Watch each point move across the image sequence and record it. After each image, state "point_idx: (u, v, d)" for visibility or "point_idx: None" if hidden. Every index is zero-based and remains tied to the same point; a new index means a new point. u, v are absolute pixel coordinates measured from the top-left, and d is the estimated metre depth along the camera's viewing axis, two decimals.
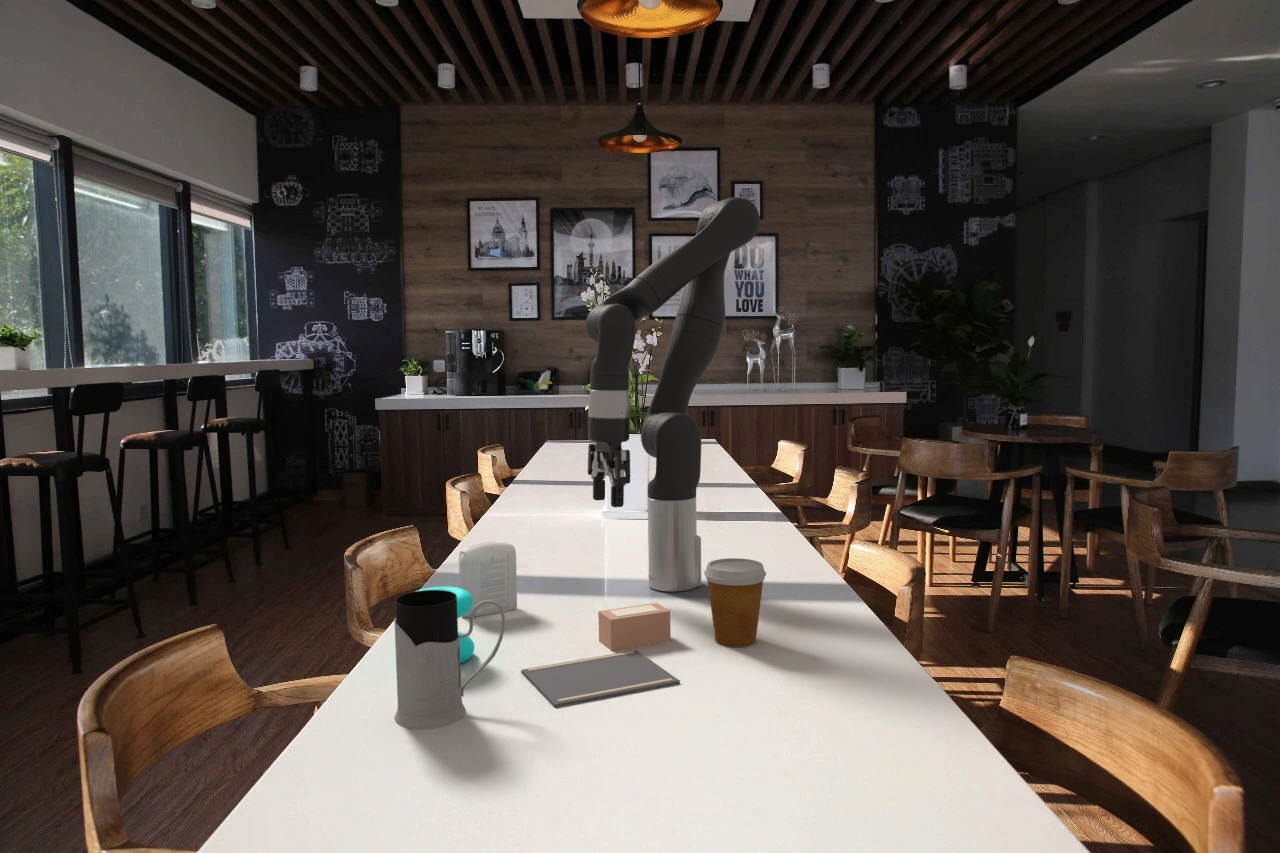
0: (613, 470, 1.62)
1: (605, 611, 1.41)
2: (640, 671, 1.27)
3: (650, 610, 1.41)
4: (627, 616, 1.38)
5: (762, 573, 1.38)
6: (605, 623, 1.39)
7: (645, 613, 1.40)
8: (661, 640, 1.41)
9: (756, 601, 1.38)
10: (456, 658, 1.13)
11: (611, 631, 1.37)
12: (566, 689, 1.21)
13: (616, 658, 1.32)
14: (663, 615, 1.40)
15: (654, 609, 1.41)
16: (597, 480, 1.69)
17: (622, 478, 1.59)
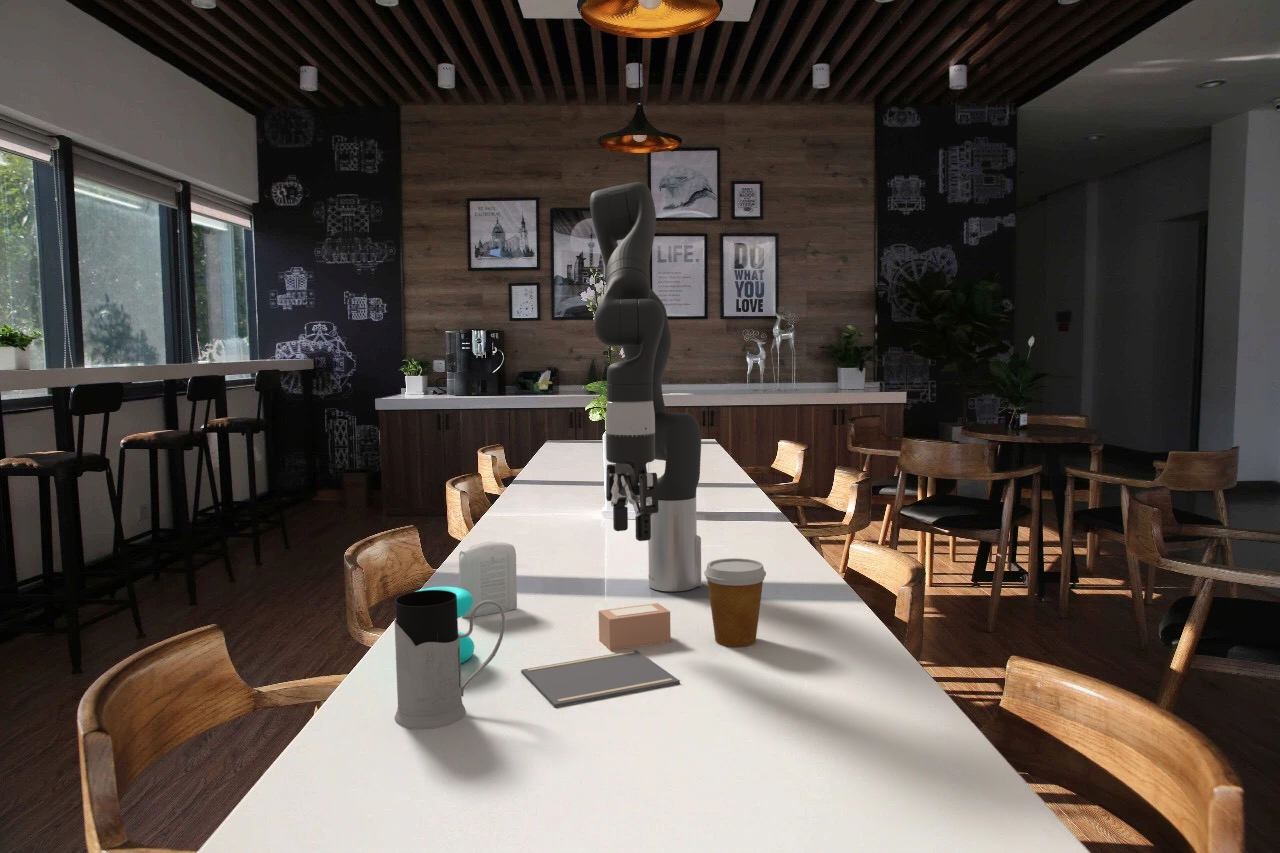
0: (637, 497, 1.36)
1: (605, 611, 1.41)
2: (640, 671, 1.27)
3: (650, 610, 1.41)
4: (626, 616, 1.38)
5: (762, 573, 1.38)
6: (605, 623, 1.39)
7: (645, 613, 1.39)
8: (661, 640, 1.40)
9: (756, 601, 1.38)
10: (456, 658, 1.13)
11: (610, 631, 1.37)
12: (566, 689, 1.21)
13: (616, 658, 1.32)
14: (663, 616, 1.40)
15: (654, 609, 1.41)
16: (618, 507, 1.43)
17: (649, 507, 1.33)
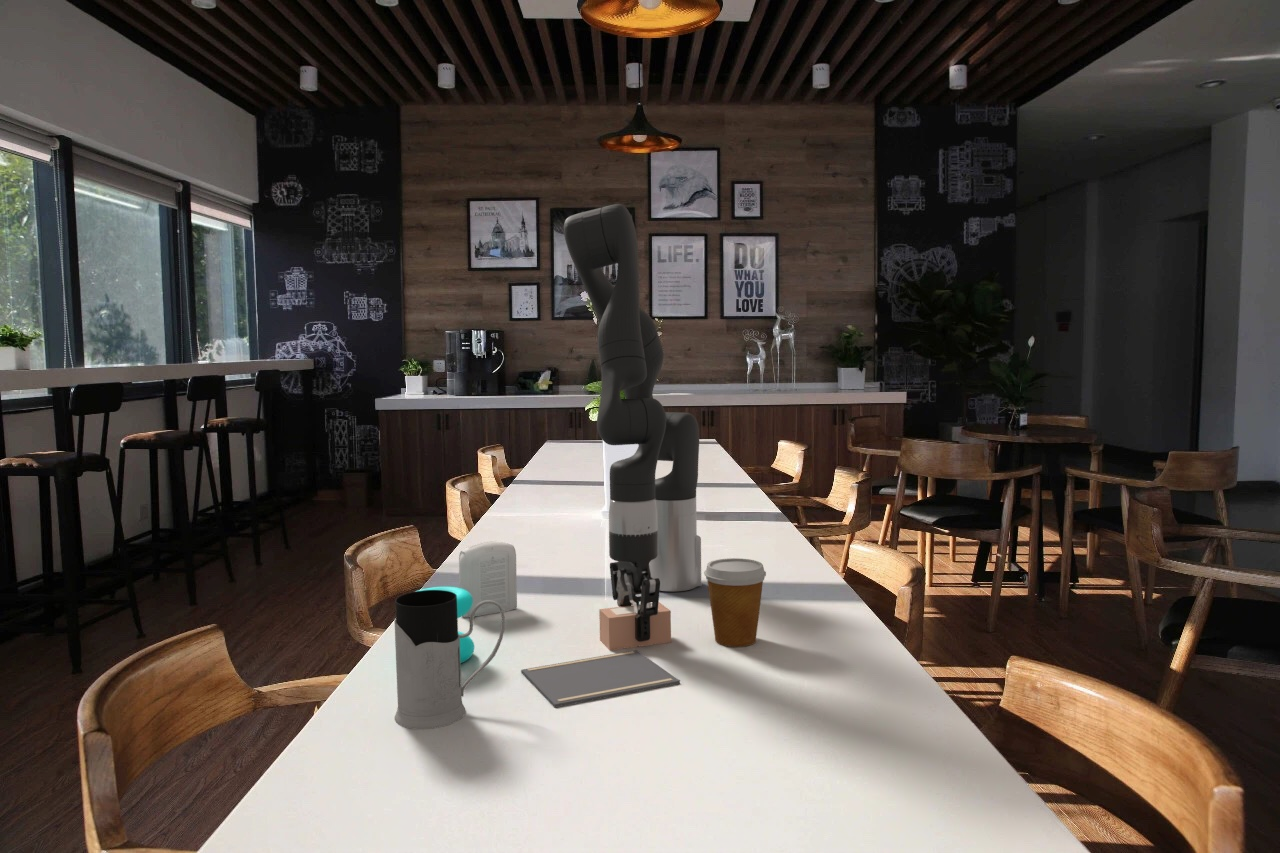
0: (638, 598, 1.38)
1: (606, 609, 1.41)
2: (640, 671, 1.27)
3: None
4: (626, 615, 1.38)
5: (762, 573, 1.38)
6: (605, 622, 1.39)
7: None
8: (661, 640, 1.40)
9: (756, 601, 1.38)
10: (456, 658, 1.13)
11: (609, 630, 1.37)
12: (566, 689, 1.21)
13: (616, 658, 1.32)
14: (664, 615, 1.40)
15: None
16: None
17: (648, 610, 1.36)
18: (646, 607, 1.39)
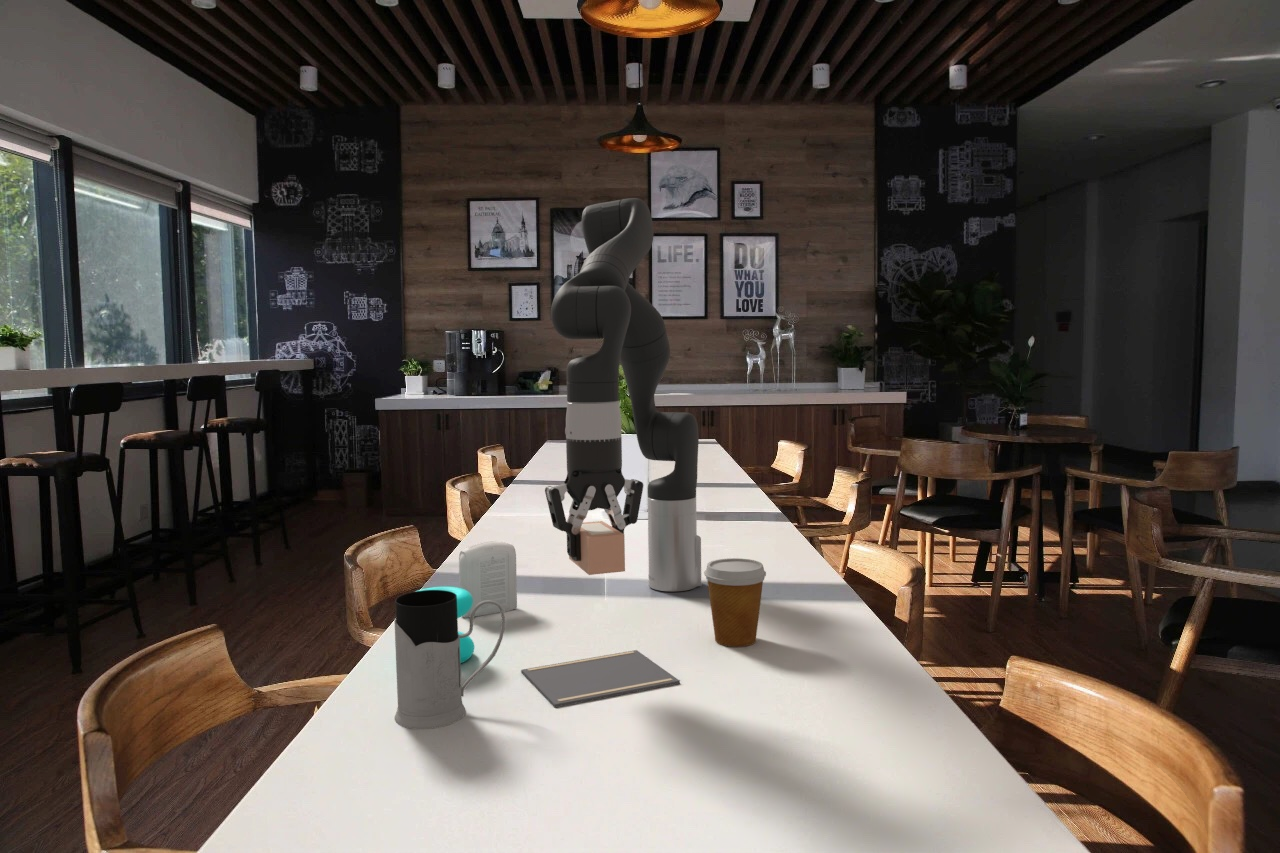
0: (572, 511, 1.23)
1: (599, 522, 1.29)
2: (640, 671, 1.27)
3: (591, 532, 1.22)
4: None
5: (762, 573, 1.38)
6: None
7: (583, 531, 1.23)
8: (585, 568, 1.20)
9: (756, 601, 1.38)
10: (456, 658, 1.13)
11: None
12: (566, 689, 1.21)
13: (616, 658, 1.32)
14: (585, 540, 1.20)
15: (594, 532, 1.21)
16: None
17: (556, 522, 1.22)
18: None
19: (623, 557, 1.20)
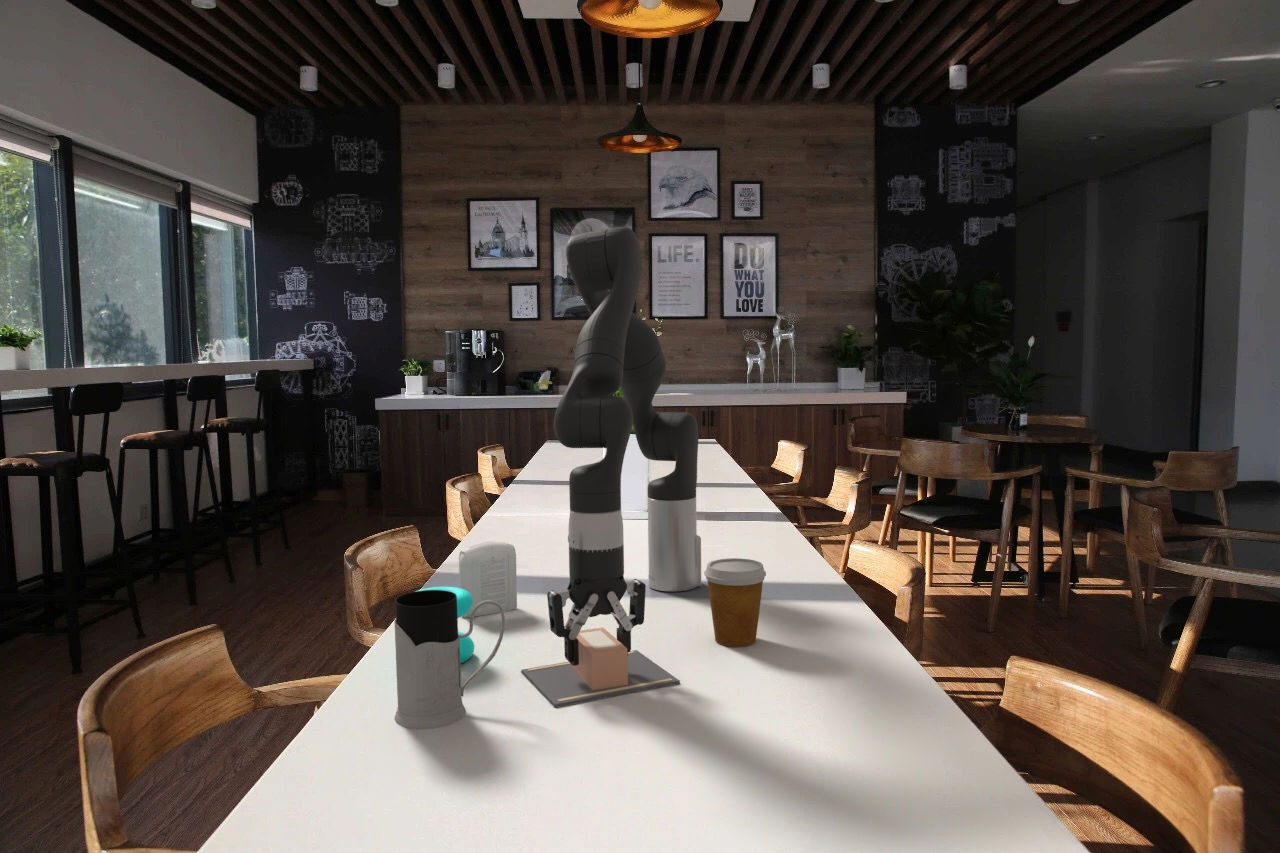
0: (571, 615, 1.24)
1: (601, 629, 1.30)
2: (640, 671, 1.27)
3: (594, 645, 1.23)
4: (578, 637, 1.27)
5: (762, 573, 1.38)
6: None
7: (586, 643, 1.24)
8: (588, 682, 1.22)
9: (756, 601, 1.38)
10: (456, 658, 1.13)
11: None
12: (566, 689, 1.21)
13: None
14: (589, 655, 1.21)
15: (597, 646, 1.22)
16: (619, 629, 1.27)
17: (554, 627, 1.23)
18: None
19: (626, 671, 1.22)
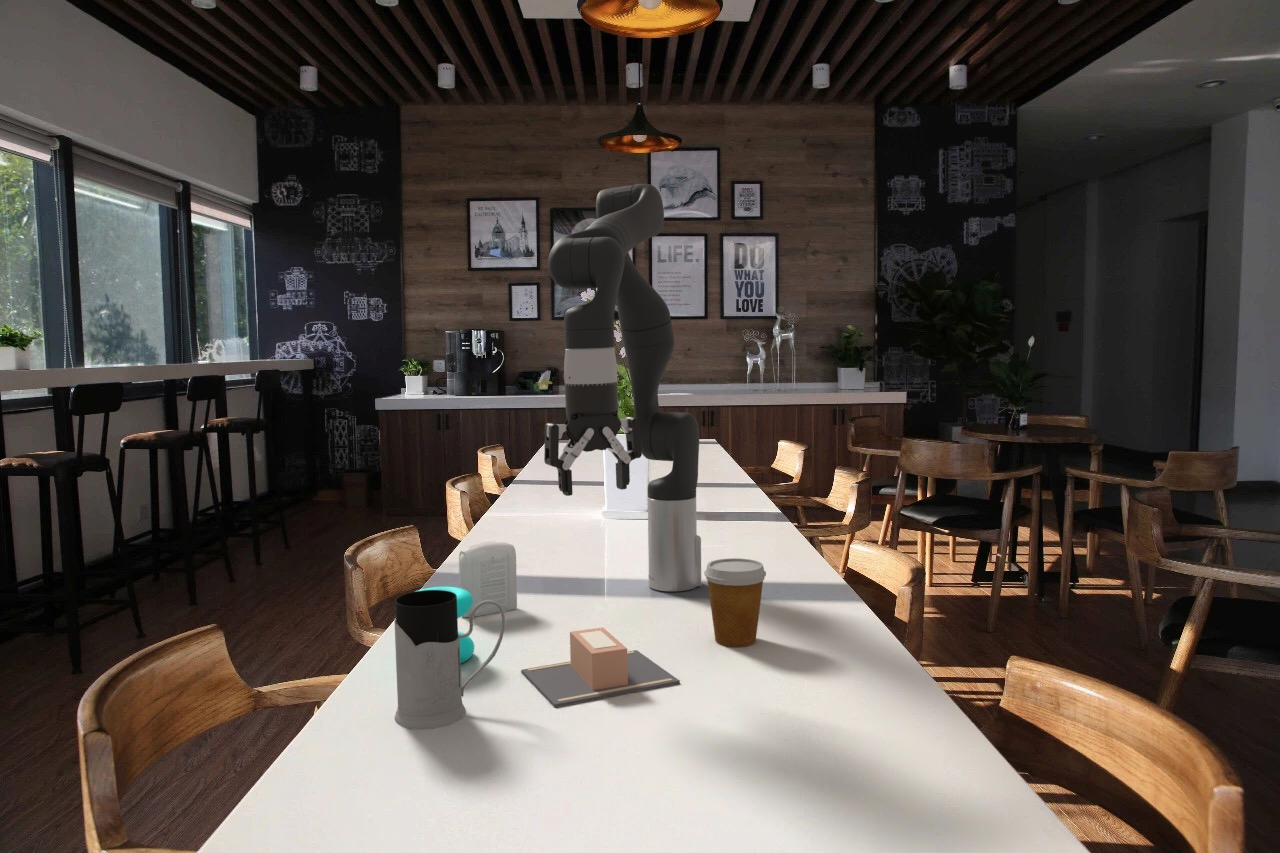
0: (566, 449, 1.29)
1: (601, 629, 1.30)
2: (640, 671, 1.27)
3: (594, 645, 1.23)
4: (578, 637, 1.27)
5: (762, 573, 1.38)
6: None
7: (586, 643, 1.24)
8: (588, 682, 1.22)
9: (756, 601, 1.38)
10: (456, 658, 1.13)
11: (570, 644, 1.29)
12: (566, 689, 1.21)
13: None
14: (589, 655, 1.21)
15: (597, 646, 1.22)
16: (618, 463, 1.33)
17: (547, 458, 1.28)
18: None
19: (626, 671, 1.22)
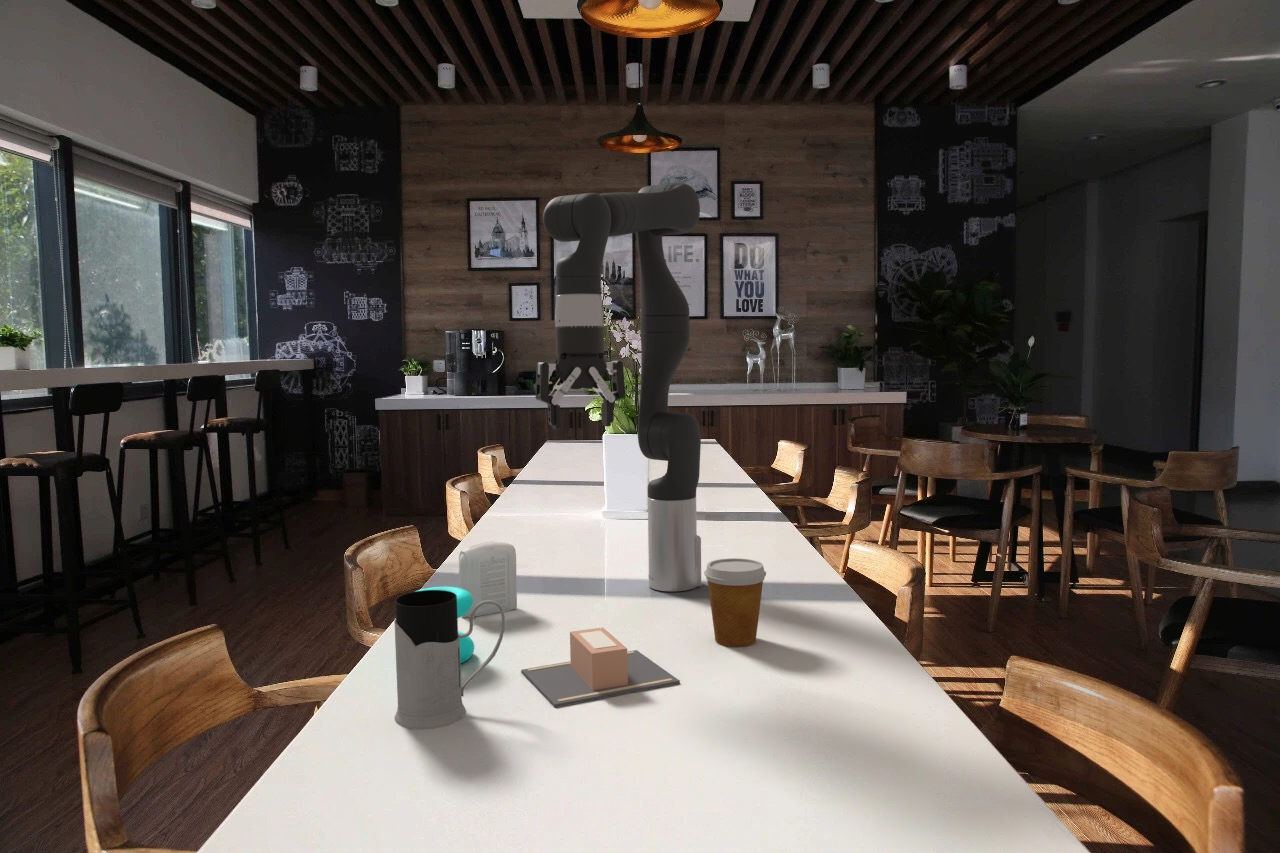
0: (556, 386, 1.42)
1: (601, 629, 1.30)
2: (640, 671, 1.27)
3: (594, 645, 1.23)
4: (578, 637, 1.27)
5: (762, 573, 1.38)
6: None
7: (586, 643, 1.24)
8: (588, 682, 1.22)
9: (756, 601, 1.38)
10: (456, 658, 1.13)
11: (570, 644, 1.29)
12: (566, 689, 1.21)
13: None
14: (589, 655, 1.21)
15: (597, 646, 1.22)
16: (603, 402, 1.45)
17: (538, 394, 1.40)
18: None
19: (626, 671, 1.22)
